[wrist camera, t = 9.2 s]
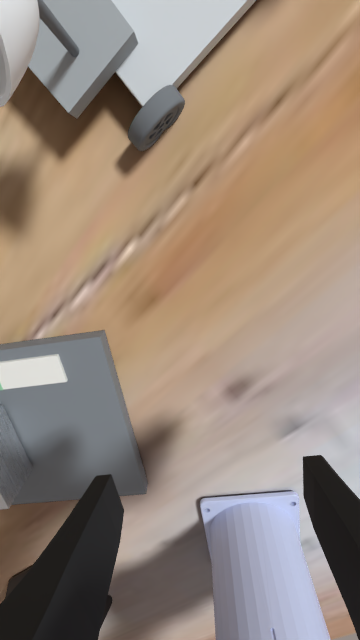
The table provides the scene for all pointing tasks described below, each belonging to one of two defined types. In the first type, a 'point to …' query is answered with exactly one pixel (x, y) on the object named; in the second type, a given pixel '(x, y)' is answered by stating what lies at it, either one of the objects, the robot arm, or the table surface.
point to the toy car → (113, 51)
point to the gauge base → (69, 416)
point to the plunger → (11, 462)
